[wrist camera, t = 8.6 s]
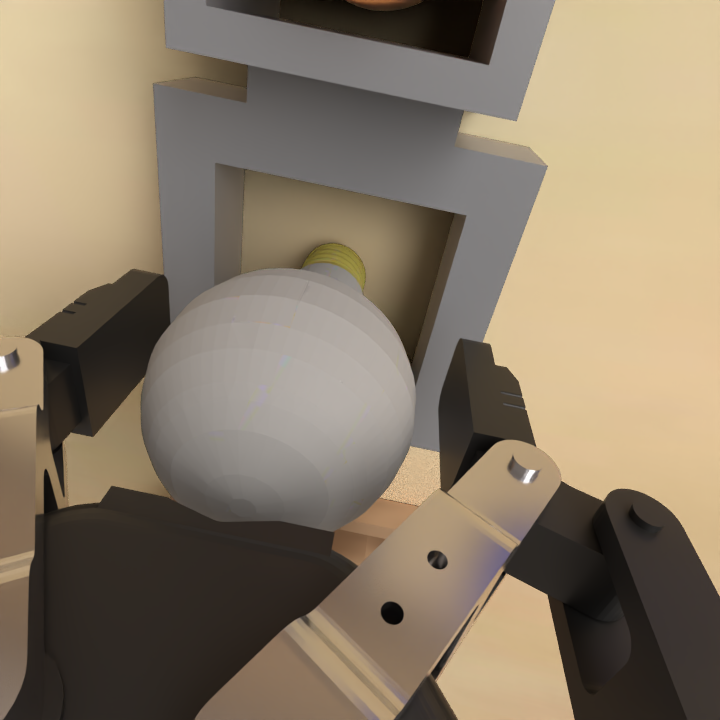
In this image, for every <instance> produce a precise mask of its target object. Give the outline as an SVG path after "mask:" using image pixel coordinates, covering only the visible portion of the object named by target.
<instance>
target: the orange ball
mask: <svg viewBox="0 0 720 720" xmlns="http://www.w3.org/2000/svg"><path fill="white" fill-rule="evenodd" d="M345 1H347V2H349V3H352V4H354V5H356V6H358V7H362V8H365V9H368V10H375V11H395V10H400V9H405V8H408V7H411V6H414V5H416V4H419V3H421V2H422V1H424V0H345Z"/></svg>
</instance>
